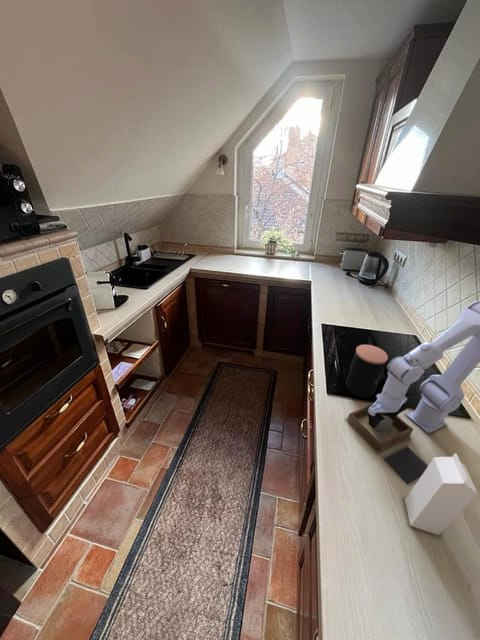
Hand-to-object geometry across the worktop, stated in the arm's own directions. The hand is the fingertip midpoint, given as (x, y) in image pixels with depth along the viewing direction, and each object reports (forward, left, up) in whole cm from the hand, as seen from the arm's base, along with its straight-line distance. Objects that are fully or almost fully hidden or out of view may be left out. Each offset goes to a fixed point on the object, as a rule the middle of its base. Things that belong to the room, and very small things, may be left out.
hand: (380, 422), depth 84 cm
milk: (+11, +23, -3) cm, 26 cm away
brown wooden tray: (0, 0, -3) cm, 3 cm away
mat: (+2, +12, -3) cm, 13 cm away
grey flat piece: (0, 0, -3) cm, 3 cm away
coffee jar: (-8, -16, -3) cm, 18 cm away
